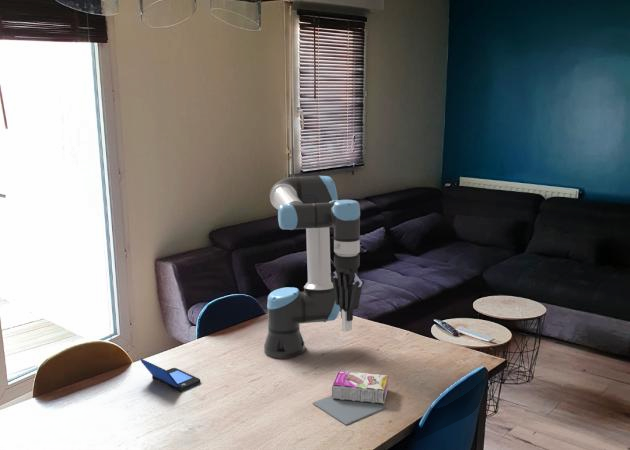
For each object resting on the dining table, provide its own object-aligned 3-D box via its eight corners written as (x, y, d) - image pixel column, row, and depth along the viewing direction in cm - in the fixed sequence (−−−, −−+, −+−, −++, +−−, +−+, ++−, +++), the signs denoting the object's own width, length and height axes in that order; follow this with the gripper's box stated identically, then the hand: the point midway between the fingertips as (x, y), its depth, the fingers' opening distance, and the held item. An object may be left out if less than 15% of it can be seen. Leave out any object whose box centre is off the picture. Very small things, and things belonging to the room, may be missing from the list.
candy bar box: (338, 369, 199) (388, 374, 196) (338, 383, 200) (388, 388, 197) (332, 384, 188) (385, 389, 185) (331, 399, 189) (384, 405, 186)
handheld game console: (202, 383, 203) (200, 357, 201) (168, 398, 193) (166, 371, 191) (174, 370, 213) (172, 345, 211) (141, 383, 203) (139, 357, 201)
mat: (312, 403, 188) (312, 402, 188) (352, 388, 197) (352, 387, 197) (345, 425, 175) (345, 424, 175) (386, 408, 185) (386, 407, 185)
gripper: (322, 251, 180) (323, 326, 185) (351, 260, 170) (351, 339, 175) (342, 247, 184) (342, 321, 189) (371, 255, 174) (370, 333, 179)
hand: (346, 329), depth 182 cm, fingers closed
